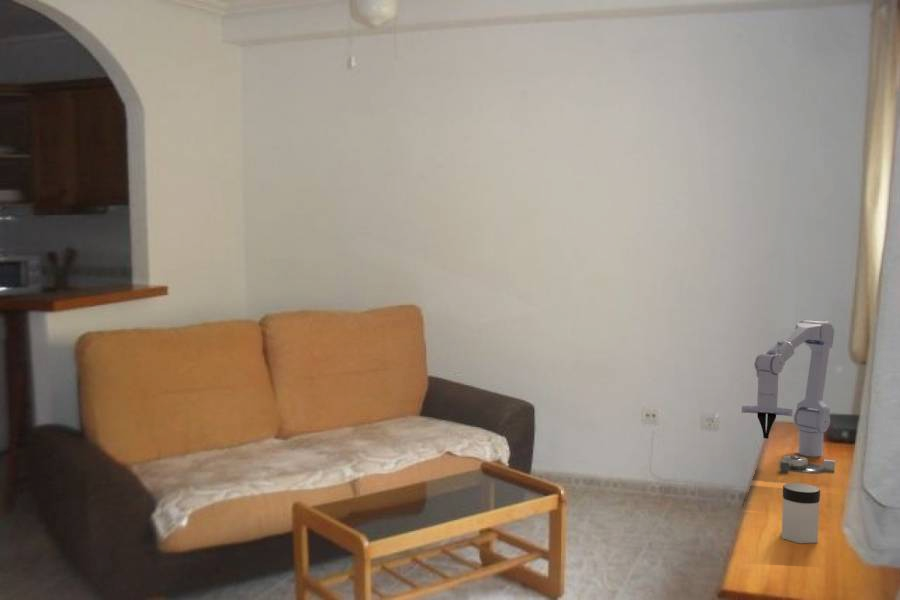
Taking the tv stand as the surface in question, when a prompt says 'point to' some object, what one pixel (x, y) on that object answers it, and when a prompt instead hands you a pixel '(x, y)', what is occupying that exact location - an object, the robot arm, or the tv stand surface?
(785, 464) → the stacked blocks
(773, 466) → the tv stand surface
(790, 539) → the jar
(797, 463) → the cover
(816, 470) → the turntable
